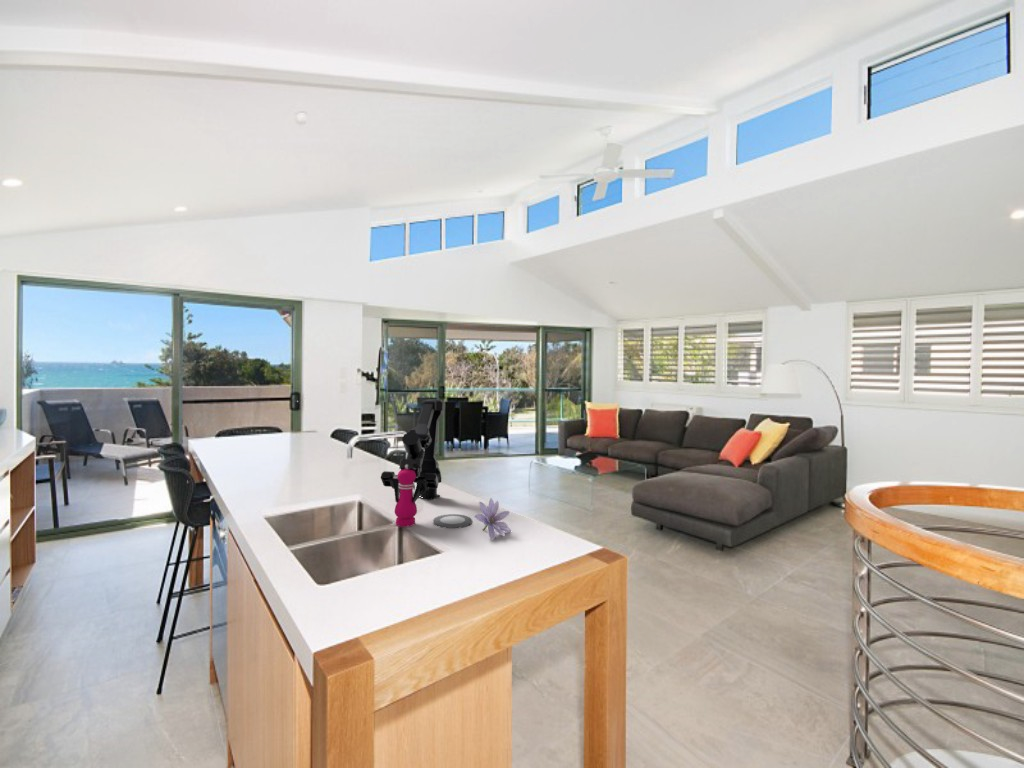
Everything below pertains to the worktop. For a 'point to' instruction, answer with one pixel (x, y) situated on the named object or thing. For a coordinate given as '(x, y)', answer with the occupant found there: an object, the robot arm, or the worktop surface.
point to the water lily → (493, 519)
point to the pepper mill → (406, 498)
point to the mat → (452, 521)
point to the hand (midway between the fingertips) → (404, 502)
